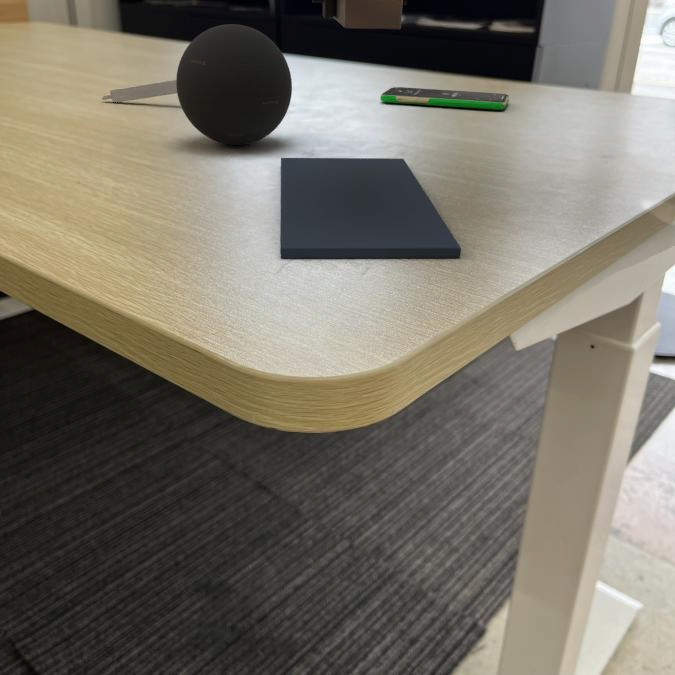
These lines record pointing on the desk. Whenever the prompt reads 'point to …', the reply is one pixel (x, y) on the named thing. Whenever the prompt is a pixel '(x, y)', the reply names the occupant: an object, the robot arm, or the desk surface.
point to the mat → (358, 211)
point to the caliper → (142, 91)
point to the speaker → (234, 84)
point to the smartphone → (446, 98)
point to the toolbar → (369, 14)
